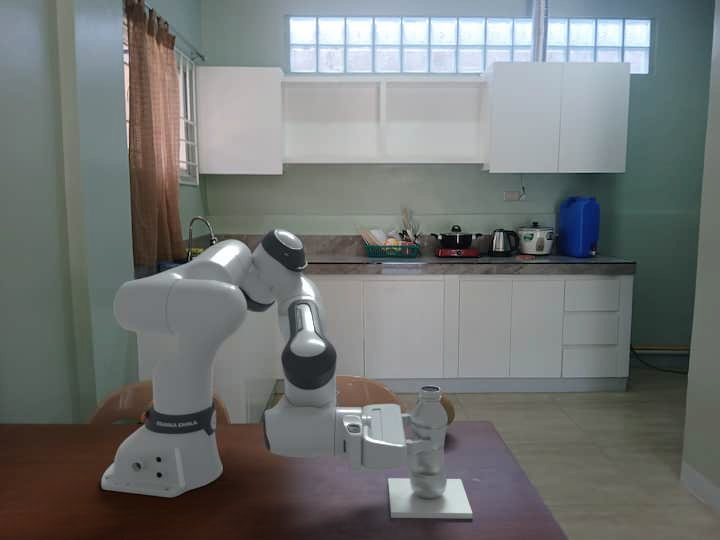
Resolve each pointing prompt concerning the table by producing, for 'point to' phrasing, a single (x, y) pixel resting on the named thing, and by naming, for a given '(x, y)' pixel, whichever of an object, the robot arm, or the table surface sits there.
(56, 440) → the table surface
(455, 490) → the bottle pad
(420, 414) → the plastic bottle
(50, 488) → the table surface
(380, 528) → the table surface
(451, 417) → the natural sponge
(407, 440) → the robot arm
